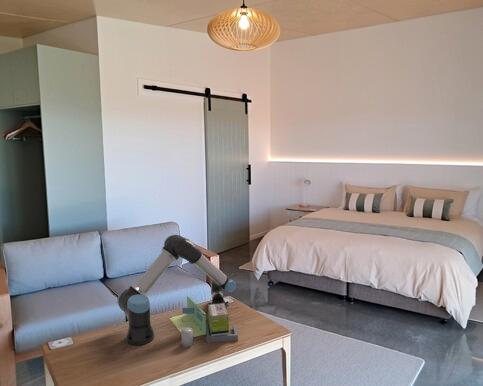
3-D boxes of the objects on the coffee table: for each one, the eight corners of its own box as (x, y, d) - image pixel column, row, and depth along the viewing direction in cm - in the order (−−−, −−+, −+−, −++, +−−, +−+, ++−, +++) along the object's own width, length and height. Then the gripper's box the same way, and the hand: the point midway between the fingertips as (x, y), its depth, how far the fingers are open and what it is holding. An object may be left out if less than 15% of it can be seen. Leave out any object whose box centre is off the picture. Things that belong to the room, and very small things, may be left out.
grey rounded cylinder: (181, 347, 210) (181, 333, 209) (181, 341, 216) (181, 328, 215) (192, 346, 211) (192, 332, 210) (192, 340, 217) (192, 327, 216)
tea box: (208, 328, 231) (207, 304, 229) (225, 326, 233) (224, 302, 230) (211, 341, 216) (210, 315, 214) (229, 339, 218) (228, 313, 216)
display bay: (206, 342, 215) (206, 337, 214) (206, 330, 228) (205, 325, 227) (238, 340, 216) (237, 335, 216) (235, 328, 230) (235, 323, 229)
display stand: (206, 334, 224) (205, 313, 223) (185, 339, 219) (184, 318, 217) (188, 314, 251) (187, 295, 249) (169, 318, 245) (168, 299, 243)
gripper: (228, 304, 256) (231, 320, 233) (207, 305, 254) (209, 322, 231) (227, 293, 255) (231, 308, 232) (207, 294, 253) (208, 310, 230)
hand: (220, 315), depth 231 cm, fingers closed
